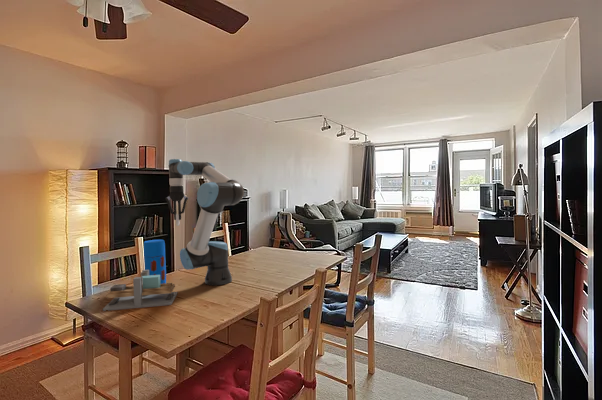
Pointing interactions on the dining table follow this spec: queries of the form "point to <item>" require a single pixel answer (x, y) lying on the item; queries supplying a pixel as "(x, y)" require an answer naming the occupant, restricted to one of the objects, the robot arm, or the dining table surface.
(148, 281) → the block
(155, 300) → the stand
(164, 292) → the beam
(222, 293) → the dining table surface
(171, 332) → the dining table surface
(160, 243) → the thermos
